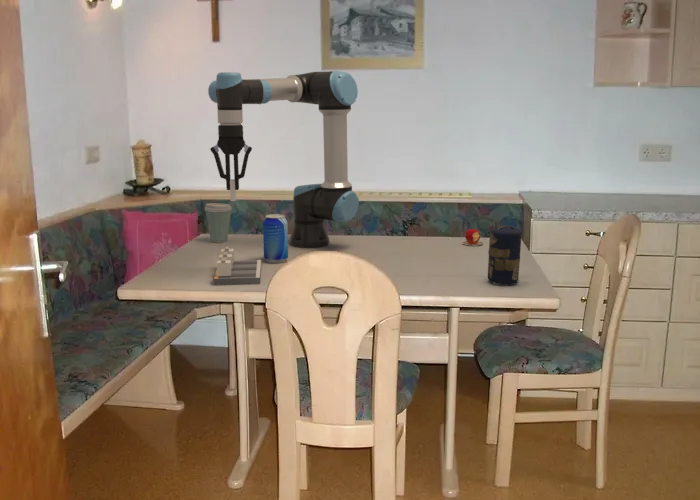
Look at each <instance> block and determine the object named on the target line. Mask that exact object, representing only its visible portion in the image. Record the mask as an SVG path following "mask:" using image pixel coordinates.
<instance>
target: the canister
mask: <svg viewBox="0 0 700 500" xmlns="http://www.w3.org/2000/svg"><path fill="white" fill-rule="evenodd" d="M521 245H522V231H521V230H520V229H519V228H516V227H514V226H510V225H503V226H497V227H492V228H491V229H490V232H489V247H488V262H487V263H488V264H487V280H488V281H490V282H491V283H493V284H498V285H503V286H504V285H508V286H509V285H513V284H517V283H518V281H519V278H520V276H519V275H520V272H519V271H520V263H521V262H520V261H521V247H522V246H521Z"/></svg>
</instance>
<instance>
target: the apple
mask: <svg viewBox="0 0 700 500" xmlns="http://www.w3.org/2000/svg"><path fill="white" fill-rule="evenodd" d="M464 236H465V241H462V242H461V244H463V245H464V246H470V247H477V246H481V245H484V243H483V242H482V241H480V239H481V233H480V231H479V230H478V229H476V228H469V229H467V230H466V231H465V235H464Z"/></svg>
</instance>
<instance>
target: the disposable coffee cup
mask: <svg viewBox="0 0 700 500" xmlns="http://www.w3.org/2000/svg"><path fill="white" fill-rule="evenodd" d="M232 210H233V208H232V206H231V204H228V203H206V204H205V207H204V211H205V215H206V216H205V217H206V221H207V227H208V228H207V229H208V232H209V233H208V234H209V239H210V241H211V242H212V243H216V244H217V243H218V244H219V243H226V242H228V239H229V231H230V225H231V224H230V223H231V217H232V215H231V214H232Z"/></svg>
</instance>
